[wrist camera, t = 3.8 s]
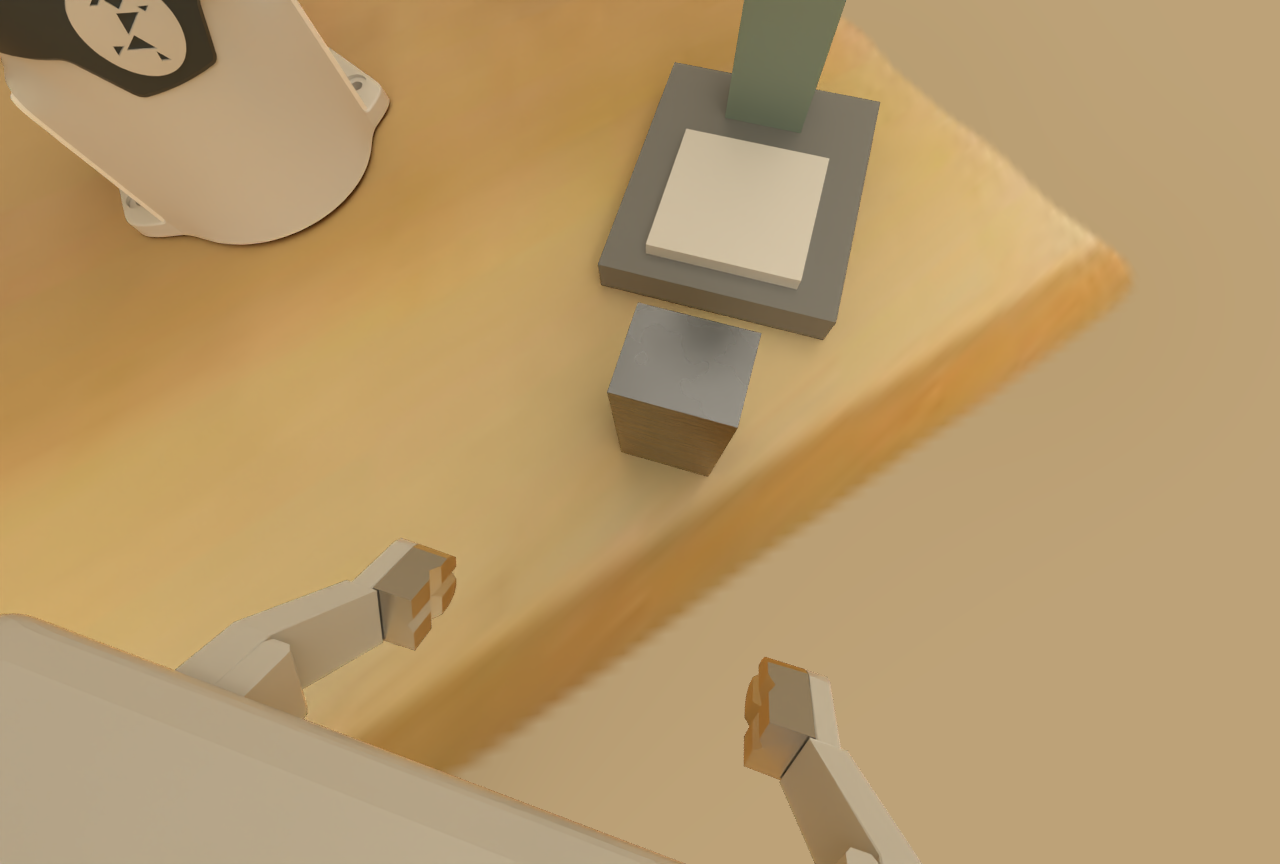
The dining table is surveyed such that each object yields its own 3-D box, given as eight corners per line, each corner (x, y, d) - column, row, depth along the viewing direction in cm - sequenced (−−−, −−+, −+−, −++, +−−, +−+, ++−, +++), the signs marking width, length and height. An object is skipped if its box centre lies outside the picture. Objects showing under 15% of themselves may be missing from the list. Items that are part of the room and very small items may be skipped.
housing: (621, 451, 26) (607, 392, 17) (641, 388, 27) (637, 302, 18) (708, 476, 25) (737, 427, 17) (725, 410, 27) (761, 333, 18)
